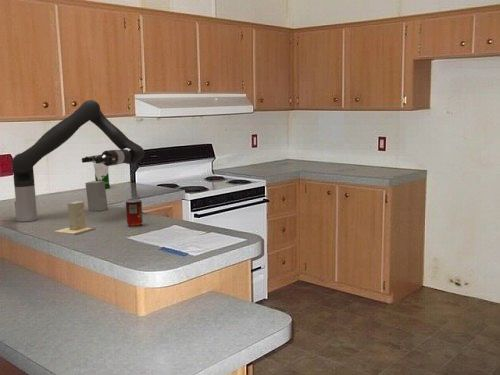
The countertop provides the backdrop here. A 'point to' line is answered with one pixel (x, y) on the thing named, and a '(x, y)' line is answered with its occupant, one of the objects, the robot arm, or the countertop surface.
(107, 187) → the milk carton
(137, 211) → the soda can
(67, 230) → the notepad
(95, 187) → the skincare box
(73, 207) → the skincare box
